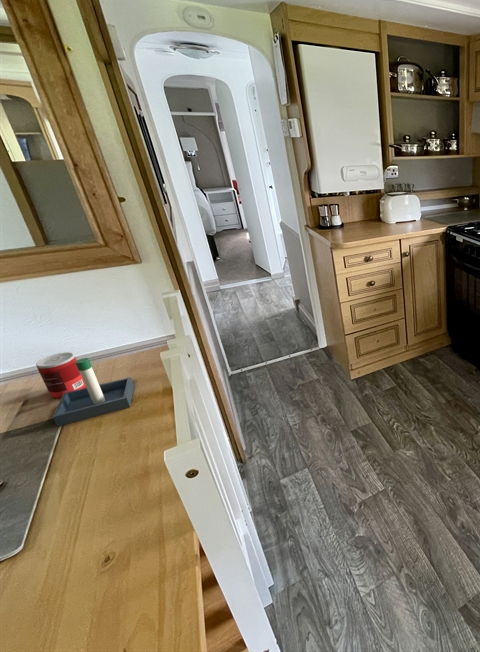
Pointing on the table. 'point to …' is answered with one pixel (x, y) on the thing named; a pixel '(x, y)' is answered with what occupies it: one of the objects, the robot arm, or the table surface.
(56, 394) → the canned food
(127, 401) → the tray
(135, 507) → the table surface
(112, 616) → the table surface
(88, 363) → the marker
